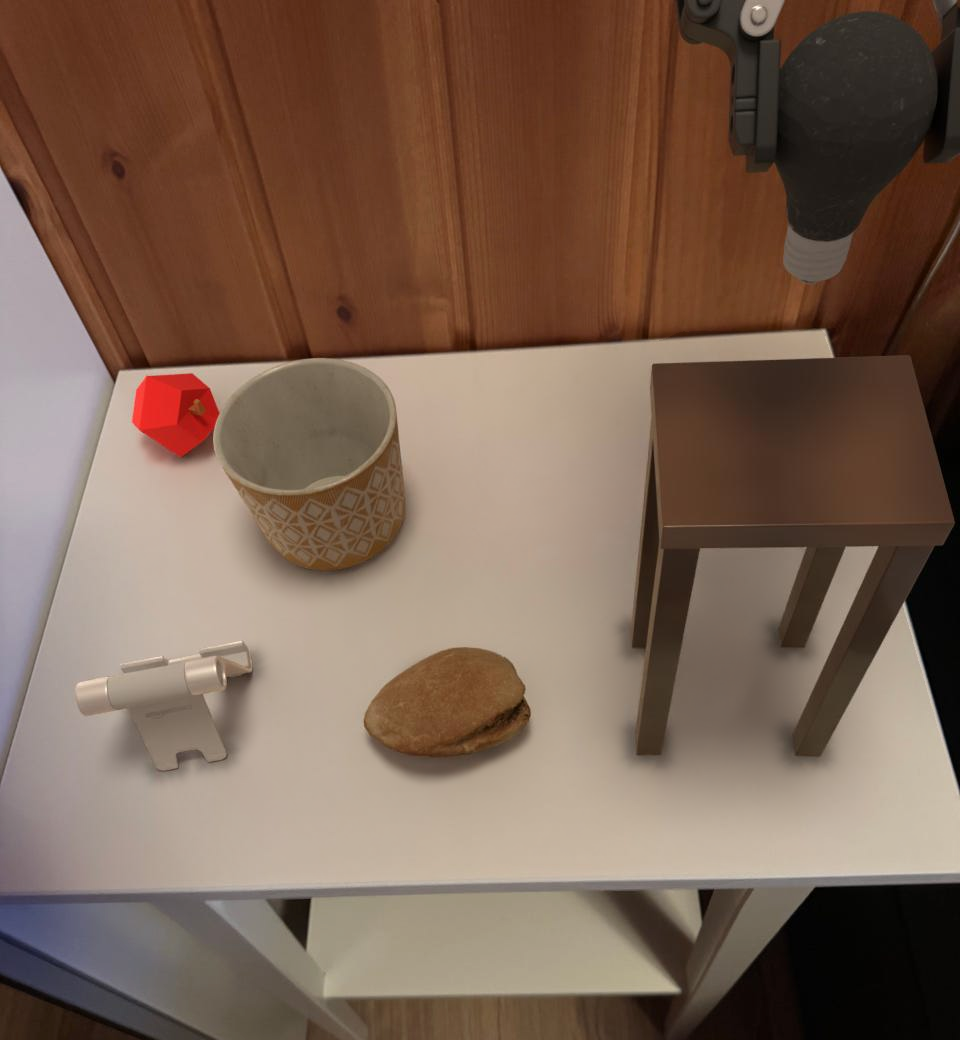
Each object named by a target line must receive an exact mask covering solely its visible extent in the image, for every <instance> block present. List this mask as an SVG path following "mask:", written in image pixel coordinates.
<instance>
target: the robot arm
mask: <svg viewBox="0 0 960 1040" xmlns="http://www.w3.org/2000/svg"><path fill="white" fill-rule="evenodd" d="M926 1H927V4H928V7H929V10H930V13H931V16H932V19H933V21H934V26H935V28H936V31H937V34H938V37H939V39H940V42H939V43H938V44H937V45H936V46H935V47H934V48H933V49H932V50H930V52H931V54H932V57H933V61H934V65H935V69H936V73H937V80H938V83H937V85H938V92H937V104H936V108H935V111H934V115H933V119H932V122H931V125H930V128H929V130H928V132H927V134H926V137H925V139H924V141H923V147H922V148H923V151H922V159H923V164H925V165H931V164H933V165H935V164H947V163H949V162H950V161H952V160H953V159H954V158H956V157H958V156H959V155H960V0H926ZM785 2H786V0H674V3H675V10H676V16H677V23H678V31H679V34H680V36H681V38H682V40H683V41H684V42H686V43H687V44H690V45H694V46H695V45H700V44H702V43H704V44H707V45H710V46H712V47H715V48H718V49H720V50H721V51H723V52H724V54H725V55H726V56H727V58H728V61H729V64H730V65H729V66H730V77H729V79H730V80H729V106H728V107H729V108H728V109H729V112H728V134H727V135H728V136H727V137H728V138H727V139H728V140H727V142H728V144H729V147H730V150H731V153H732V156H733V157H739V156H741V157H743V156H745V172H746V174H753V173H756V174H757V173H767V172H768V171H769V170H770V168H771V167H772V166H773V164H775V163H774V160H775V155H776V147H777V126H778V103H779V80H780V69H781V56H782V55H781V53H782V39H781V38H776V39H774V38H775V25H776V22H777V20H778V18H779V15H780V13H781V11H782V8H783V7H784V5H785Z"/></svg>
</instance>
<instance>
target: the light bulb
mask: <svg viewBox="0 0 960 1040" xmlns="http://www.w3.org/2000/svg"><path fill="white" fill-rule="evenodd" d="M937 83H938V80H937V73H936V69H935V65H934V61H933V57H932V54H931V50H930V47H929V46H928V44H927V43H926V41H925V39H924V38H923V37H922V35H921V34H920V33H919V32H918V31H917V30H916V29H915V28H914V27H912V25H910V24H909V23H907V22H905V21H904V20H902V19H900V18H898V17H897V16H896V15H893V14H890V13H887V12H882V11H875V10H873V11H872V10H869V11H868V10H862V11H856V12H849V13H846V14H843V15H841V16H838V17H836V18H833V19H830V20H828V21H826V22H825V23H823V24H822V25H820V26H819V27H817V28H816V29H814V30H812V32H810V33H809V34H807V35H806V36H805V37H804V38H803V39H802V40H801V41H800V42H799V43H798V44H797V45H796V46H795V47H794V48H793V50H792V51H791V52H790V54H789V55H788V57H787V58H786V59H785V61H784V63H783V64H782V66H780V80H779V103H778V126H777V147H776V155H775V160H774V163H773V164H774V165H775V167H776V170H777V172H778V174H779V177H780V179H781V182H782V184H783V188H784V191H785V196H786V199H785V200H786V201H785V202H786V203H785V205H786V206H785V208H786V210H785V212H786V213H785V214H786V218H787V224H788V226H787V231H786V235H785V241H784V246H783V257H782V258H783V259H782V264H783V267H784V269H785V270H786V271H787V272H788V273H789V274H790V275H792V276H793V277H795V278H796V279H797V280H798V281H799V282H800V283H802V284H805V285H815V284H816V285H817V284H818V283H819V282H823V281H827V280H829V279H831V278H834V277H835V276H837V275H838V274H839V273H840V271H841V270H842V268H843V265H844V264H845V263H846V261H847V258H848V253H849V251H850V247H851V243H852V239H853V235H854V233H855V231H856V230H857V229H858V227H859V226H860V224H861V222H862V220H863V219H864V216H865V215H866V212H867V210H868V208H869V206H870V205H871V204H872V202H873V201H874V200H875V199H876V197H877V196H878V195H880V193H881V192H882V191H883V190H885V188H886V187H887V186H888V185H889V184H890V183H891V182H893V180H894V179H896V178H897V176H899V174H901V172H903V170H904V169H905V168H906V167H907V166H908V164H909V163H910V162H911V161H912V160H913V158H914V157H915V155H916V153H917V152H918V150H919V149H920V148H921V146H922V145H923V144H924V139H925V137H926V134H927V132H928V130H929V128H930V125H931V122H932V119H933V115H934V111H935V108H936V104H937V92H938V85H937Z"/></svg>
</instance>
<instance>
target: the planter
mask: <svg viewBox="0 0 960 1040" xmlns="http://www.w3.org/2000/svg"><path fill="white" fill-rule="evenodd" d="M395 401H396V400H395V399H394V396H393V393H392V392H391V390H390V388H389V387H388V385H387V384H386V383H385V382H384V381H383V379H382V378H381V377H379V375H377V374H376V373H374V372H373V371H372V370H370V369H368V368H366V367H365V366H362V365H359V364H358V363H355V362H351V361H348V360H344V359H338V358H330V357H329V358H328V357H314V358H303V359H297V360H293V361H288V362H285V363H282V364H278V365H276V366H274V367H271V368H269V369H266V370H265V371H263V372H261V373H259V374H257V375H255V376H254V377H252V378H251V379H249V380H248V381H246V382H245V383H244V384H242V385H241V386H240V387H239V388H238V389H237V390H236V391H235V392H234V393H233V394H232V395H231V396H230V397H229V398H228V400H227V401H226V402H225V403H224V405H223V407H222V408H221V410H220V411H219V413H220V414H219V416H218V418H217V421H216V424H215V428H214V429H213V437H212V443H213V449H214V453H215V456H216V459H217V461H218V463H219V464H220V466H221V468H222V470H223V471H224V472H225V474H226V476H227V477H228V479H229V481H230V482H231V484H232V485H233V487H234V488H235V490H236V492H237V494H238V495H239V496H240V498H241V500H242V501H243V503H244V504H245V506H246V507H247V509H248V511H249V513H250V514H251V516H252V517H253V518H254V520H255V522H256V523H257V525H258V526H259V528H260V530H261V531H262V533H263V534H264V536H265V538H266V539H267V541H268V543H269V544H270V545H271V547H272V548H273V549H274V551H276V552H277V554H279V555H280V556H281V557H282V558H283V559H285V560H286V561H289V563H292V564H294V565H297V566H299V567H302V568H305V569H308V570H309V569H310V570H316V571H334V570H342V569H346V568H351V567H354V566H356V565H359V564H362V563H363V562H366V561H368V560H370V559H372V558H373V557H375V556H377V555H378V554H379V553H380V552H381V551H383V550H384V549H385V548H386V547H387V546H388V545H389V544H390V543H391V541H392V540H393V539H394V538H395V537H396V535H397V533H398V531H399V529H400V528H401V526H402V523H403V520H404V518H405V511H406V493H405V483H404V472H403V462H402V454H401V453H402V452H401V443H400V434H399V422H398V413H397V405H396V402H395Z"/></svg>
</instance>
